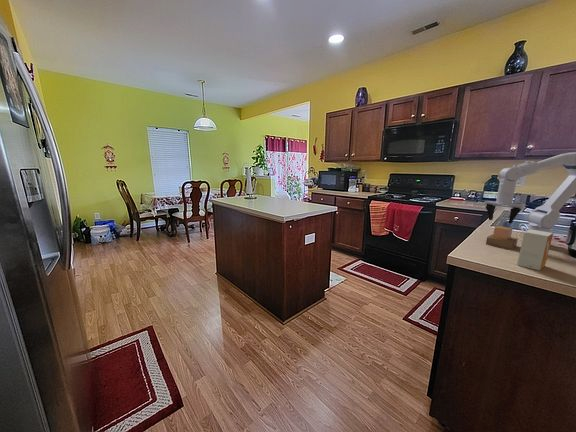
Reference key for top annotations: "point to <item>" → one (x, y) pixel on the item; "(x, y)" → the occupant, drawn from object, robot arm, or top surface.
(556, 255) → the top surface
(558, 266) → the top surface
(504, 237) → the terracotta cube
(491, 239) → the walnut block
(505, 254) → the top surface
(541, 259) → the small box
